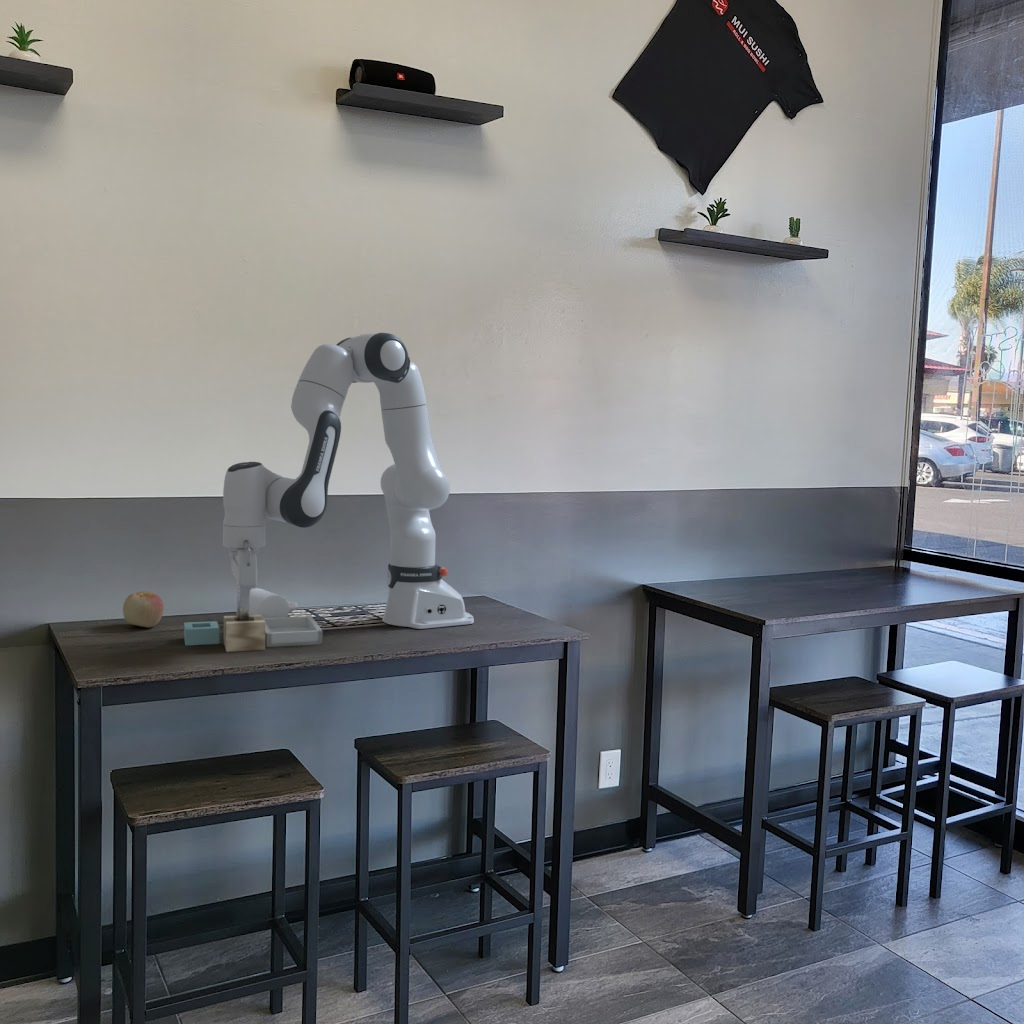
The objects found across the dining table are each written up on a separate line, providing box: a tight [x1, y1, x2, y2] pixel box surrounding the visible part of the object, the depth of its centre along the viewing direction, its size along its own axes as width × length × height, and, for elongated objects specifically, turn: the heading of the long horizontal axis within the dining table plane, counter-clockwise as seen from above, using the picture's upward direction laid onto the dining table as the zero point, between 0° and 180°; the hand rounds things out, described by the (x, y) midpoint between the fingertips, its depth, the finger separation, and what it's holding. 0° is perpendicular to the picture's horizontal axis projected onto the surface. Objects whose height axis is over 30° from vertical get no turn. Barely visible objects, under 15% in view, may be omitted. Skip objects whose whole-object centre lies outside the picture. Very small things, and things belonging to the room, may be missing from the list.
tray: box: [263, 615, 323, 648], centre depth 224 cm, size 12×16×3 cm
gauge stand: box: [183, 620, 220, 646], centre depth 219 cm, size 7×7×4 cm
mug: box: [249, 587, 299, 618], centre depth 238 cm, size 12×10×8 cm
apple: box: [122, 590, 165, 628], centre depth 230 cm, size 9×9×8 cm
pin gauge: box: [236, 582, 250, 621], centre depth 214 cm, size 3×3×12 cm
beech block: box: [223, 615, 266, 653], centre depth 215 cm, size 8×8×6 cm
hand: (243, 601), depth 214 cm, fingers closed on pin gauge, 3 cm apart
